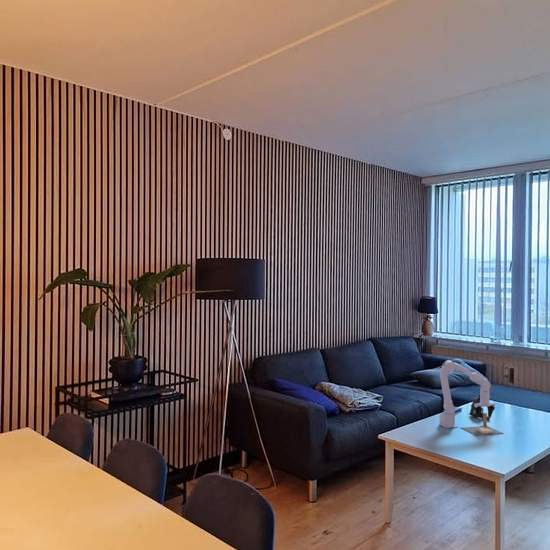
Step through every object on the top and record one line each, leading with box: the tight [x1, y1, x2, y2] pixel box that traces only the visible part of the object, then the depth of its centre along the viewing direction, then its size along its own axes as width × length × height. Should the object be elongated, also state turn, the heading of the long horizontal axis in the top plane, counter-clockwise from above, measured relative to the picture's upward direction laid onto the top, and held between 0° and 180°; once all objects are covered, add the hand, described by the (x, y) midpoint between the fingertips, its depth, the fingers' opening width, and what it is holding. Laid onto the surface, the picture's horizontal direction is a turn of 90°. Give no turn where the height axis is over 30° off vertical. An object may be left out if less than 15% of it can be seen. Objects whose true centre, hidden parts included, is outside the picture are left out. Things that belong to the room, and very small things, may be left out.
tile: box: [476, 427, 493, 434], centre depth 316 cm, size 7×2×7 cm
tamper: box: [480, 412, 490, 428], centre depth 325 cm, size 4×4×10 cm
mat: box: [460, 425, 504, 437], centre depth 319 cm, size 20×16×1 cm
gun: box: [468, 394, 491, 422], centre depth 347 cm, size 3×17×15 cm
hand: (484, 417), depth 326 cm, fingers open, 7 cm apart
